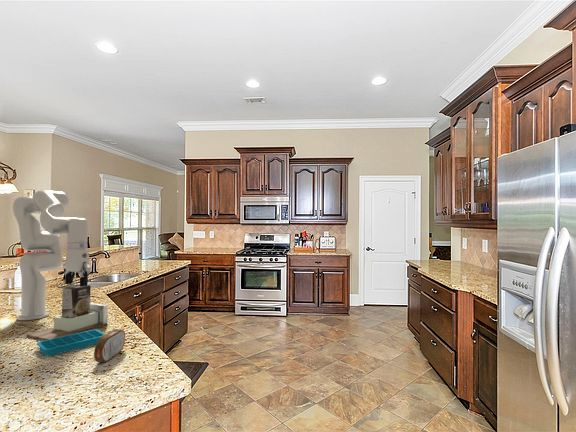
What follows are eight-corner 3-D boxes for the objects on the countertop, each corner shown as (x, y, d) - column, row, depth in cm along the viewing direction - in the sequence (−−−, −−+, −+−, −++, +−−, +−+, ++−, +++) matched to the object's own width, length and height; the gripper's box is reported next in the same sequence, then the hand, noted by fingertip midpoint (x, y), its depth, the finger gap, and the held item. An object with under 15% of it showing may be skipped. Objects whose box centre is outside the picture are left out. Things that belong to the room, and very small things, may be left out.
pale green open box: (53, 328, 141) (53, 316, 141) (83, 320, 152) (83, 309, 153) (69, 331, 137) (69, 319, 137) (98, 323, 148) (98, 311, 149)
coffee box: (73, 327, 139) (73, 288, 140) (61, 326, 141) (61, 288, 141) (90, 321, 148) (91, 284, 149) (79, 320, 150) (79, 284, 150)
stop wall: (79, 320, 154) (79, 302, 154) (83, 318, 156) (84, 301, 156) (103, 324, 148) (103, 306, 148) (107, 322, 149) (107, 305, 150)
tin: (118, 349, 120) (118, 325, 121) (126, 349, 120) (127, 325, 121) (92, 366, 105) (92, 340, 106) (102, 366, 105) (102, 340, 106)
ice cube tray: (35, 350, 120) (35, 342, 120) (96, 336, 135) (96, 328, 135) (44, 359, 112) (44, 350, 113) (107, 342, 128) (107, 335, 128)
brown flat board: (26, 337, 134) (26, 334, 134) (83, 321, 156) (83, 318, 156) (51, 342, 127) (51, 339, 127) (107, 324, 149) (107, 322, 149)
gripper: (98, 246, 145) (97, 285, 145) (72, 244, 152) (71, 281, 152) (82, 247, 139) (80, 288, 138) (56, 245, 146) (54, 284, 145)
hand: (76, 284), depth 145 cm, fingers open, 9 cm apart
